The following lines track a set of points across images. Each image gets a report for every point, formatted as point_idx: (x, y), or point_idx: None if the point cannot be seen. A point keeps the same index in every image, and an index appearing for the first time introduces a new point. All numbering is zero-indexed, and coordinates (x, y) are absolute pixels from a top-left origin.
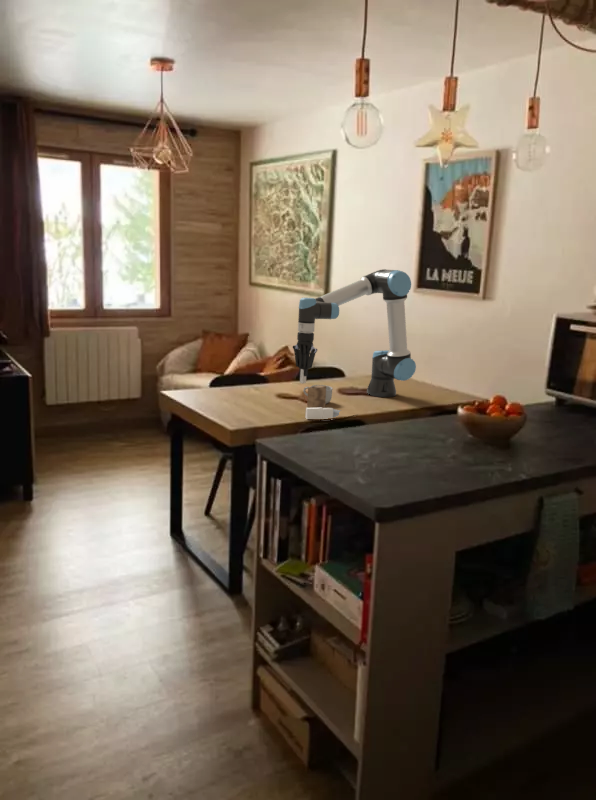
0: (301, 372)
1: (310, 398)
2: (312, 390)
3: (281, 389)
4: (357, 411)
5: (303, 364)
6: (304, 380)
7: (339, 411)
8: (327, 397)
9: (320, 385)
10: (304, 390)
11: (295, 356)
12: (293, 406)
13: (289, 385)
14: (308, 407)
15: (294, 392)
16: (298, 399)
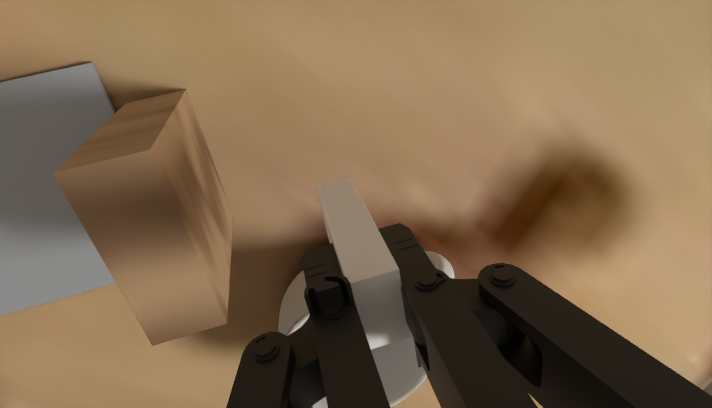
0: (364, 245)
1: (134, 125)
2: (86, 158)
3: (668, 270)
4: (62, 367)
5: (431, 370)
6: (327, 229)
7: (69, 271)
8: (278, 328)
9: (213, 320)
10: (435, 262)
11: (680, 394)
12: (354, 92)
13: (681, 337)
14: (168, 99)
15: (588, 292)
16: (474, 230)
